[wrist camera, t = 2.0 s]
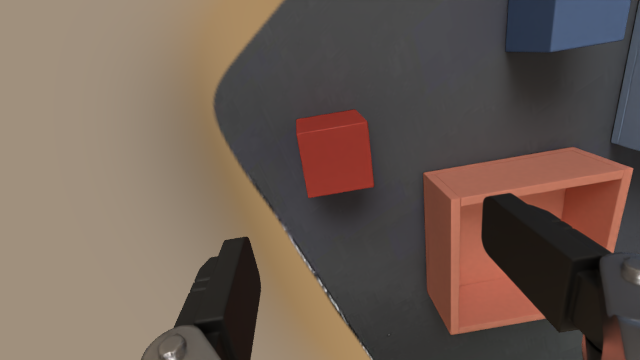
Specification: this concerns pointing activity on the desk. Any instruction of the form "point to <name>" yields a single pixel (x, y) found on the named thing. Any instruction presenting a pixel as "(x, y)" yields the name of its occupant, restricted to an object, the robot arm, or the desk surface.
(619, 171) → the red bin
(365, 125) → the red block
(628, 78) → the blue bin
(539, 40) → the blue block
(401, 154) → the desk surface
